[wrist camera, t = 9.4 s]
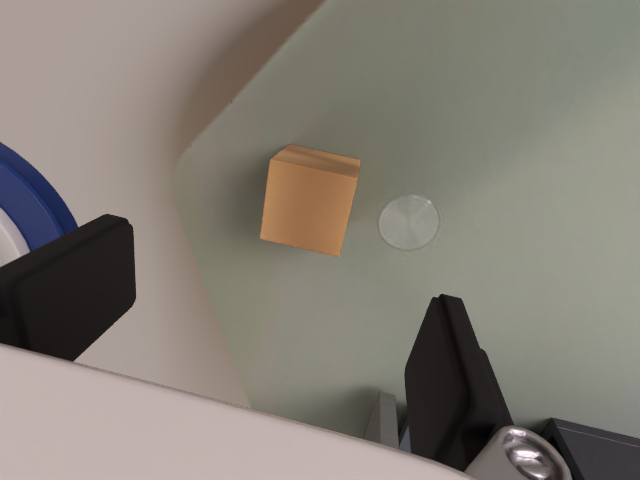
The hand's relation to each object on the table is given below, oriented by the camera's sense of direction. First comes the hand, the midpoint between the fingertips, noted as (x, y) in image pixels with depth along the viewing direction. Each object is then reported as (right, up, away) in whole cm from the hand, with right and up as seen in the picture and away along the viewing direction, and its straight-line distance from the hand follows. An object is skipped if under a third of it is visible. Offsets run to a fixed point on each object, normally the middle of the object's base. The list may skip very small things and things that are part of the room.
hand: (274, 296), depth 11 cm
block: (+1, +5, +11) cm, 13 cm away
